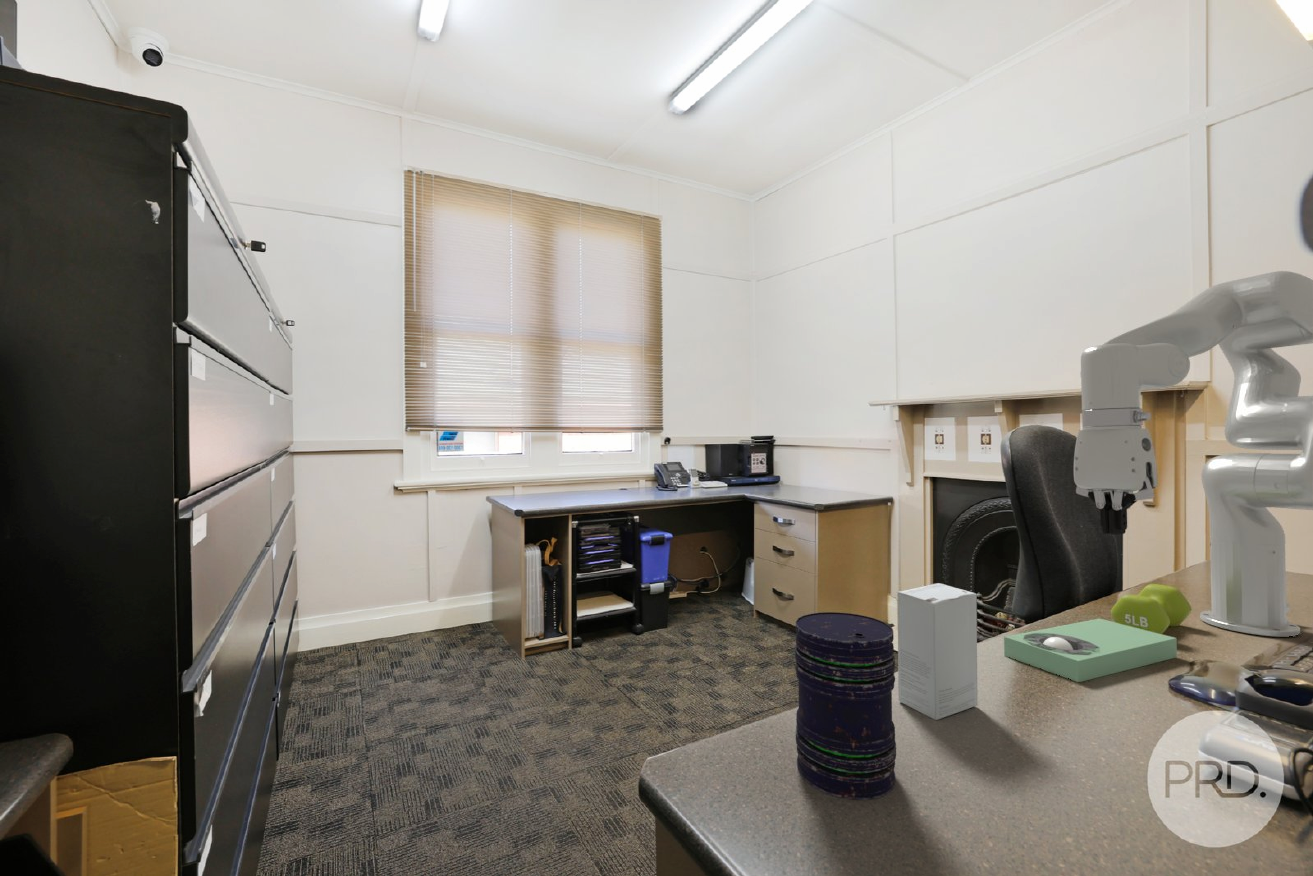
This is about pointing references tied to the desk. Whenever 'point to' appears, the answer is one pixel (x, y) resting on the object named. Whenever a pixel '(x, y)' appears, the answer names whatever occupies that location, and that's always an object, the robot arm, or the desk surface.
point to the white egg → (1058, 643)
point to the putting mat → (1091, 649)
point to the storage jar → (845, 704)
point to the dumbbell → (1152, 608)
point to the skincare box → (937, 649)
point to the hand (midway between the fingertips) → (1114, 533)
